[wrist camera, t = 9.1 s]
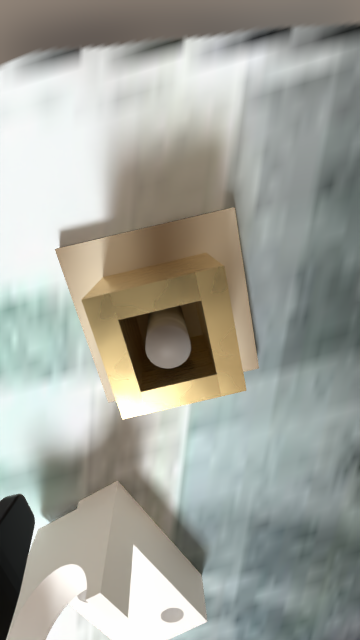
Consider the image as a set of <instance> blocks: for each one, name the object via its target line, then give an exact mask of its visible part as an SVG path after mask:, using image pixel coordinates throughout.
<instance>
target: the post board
mask: <svg viewBox="0 0 360 640" xmlns="http://www.w3.org/2000/svg"><path fill="white" fill-rule="evenodd" d="M55 251H56V254H57V257H58V260H59V262H60V265H61V268H62V271H63V274H64V277H65V280H66V282H67V285H68V288H69V291H70V294H71V297H72V300H73V302H74V305H75V308H76V311H77V314H78V317H79V320H80V323H81V325H82V328H83V331H84V334H85V337H86V340H87V343H88V345H89V348H90V351H91V354H92V357H93V360H94V363H95V365H96V368H97V371H98V374H99V377H100V380H101V383H102V385H103V388H104V391H105V394H106V397H107V400H108V403H109V402H114V401H116V399H115V396H114V393H113V390H112V387H111V384H110V382H109V379H108V376H107V373H106V370H105V367H104V364H103V361H102V358H101V356H100V353H99V350H98V347H97V344H96V341H95V338H94V335H93V332H92V330H91V327H90V324H89V321H88V318H87V315H86V312H85V309H84V306H83V304H82V301H81V300H82V298H83V297H84V296H85V295H86V294H87V293H88V292H89V291H90V290H91V289H92V288H93V287H94V286H95V285H96V284H97V283H98V282H99V281H100V280H101V278H102V277H106V276H110V275H114V274H118V273H123V272H127V271H131V270H135V269H139V268H144V267H148V266H152V265H156V264H160V263H165V262H169V261H173V260H177V259H181V258H186V257H190V256H194V255H198V254H202V253H208V254H209V255H210V256H212V257H213V258H214V259H216V260H217V261H218V262H220V263H221V264H223V265H224V266H225V272H226V278H227V283H228V289H229V295H230V300H231V306H232V312H233V317H234V323H235V329H236V334H237V340H238V346H239V351H240V357H241V362H242V368H243V372H245V371H249V370H254V369H258V368H259V366H258V359H257V352H256V346H255V339H254V332H253V326H252V319H251V313H250V306H249V299H248V293H247V286H246V279H245V273H244V266H243V259H242V253H241V246H240V239H239V233H238V226H237V219H236V213H235V207H234V208H228V209H224V210H220V211H216V212H211V213H207V214H203V215H198V216H194V217H190V218H185V219H181V220H177V221H173V222H168V223H164V224H160V225H155V226H151V227H147V228H143V229H138V230H134V231H130V232H125V233H121V234H117V235H113V236H108V237H104V238H100V239H95V240H91V241H87V242H82V243H78V244H74V245H70V246H65V247H61V248H57V249H55ZM136 318H137V321H138V325H139V328H140V332H141V335H142V339H143V342H144V345H145V350H146V354H147V357H148V358H149V360H150V361H151V362H152V363H153V364H154V365H156V366H158V367H161V368H175V367H177V366H179V365H181V364H183V363H184V362H185V361H186V360H187V358H188V357H189V354H190V351H191V343H190V339H189V338H190V337H195V336H199V335H202V331H201V326H200V322H199V317H198V313H197V308H196V303H195V302H193V303H188V304H184V305H180V306H176V307H171V308H167V309H163V310H159V311H155V312H150V313H146V314H142V315H138V316H136Z"/></svg>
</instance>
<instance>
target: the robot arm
mask: <svg viewBox="0 0 360 640" xmlns="http://www.w3.org/2000/svg"><path fill="white" fill-rule="evenodd" d="M34 525H35V519H34V515H33V513H32V511H31V509H30V507H29V505H28V503H27V501H26V499H25V497H24V496H23V495H22V494H16V495H11V496H7V497H5V498H3V499H2V500H1V501H0V640H6V638H7V635H8V632H9V629H10V625H11V622H12V619H13V615H14V612H15V609H16V605H17V602H18V598H19V594H20V590H21V586H22V582H23V577H24V572H25V568H26V563H27V558H28V554H29V549H30V544H31V539H32V535H33V530H34Z"/></svg>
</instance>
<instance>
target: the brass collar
mask: <svg viewBox="0 0 360 640" xmlns="http://www.w3.org/2000/svg"><path fill="white" fill-rule="evenodd" d="M81 301H82V304H83V306H84V309H85V312H86V315H87V318H88V321H89V324H90V327H91V330H92V332H93V335H94V338H95V341H96V344H97V347H98V350H99V353H100V356H101V358H102V361H103V364H104V367H105V370H106V373H107V376H108V379H109V382H110V384H111V387H112V390H113V393H114V396H115V399H116V402H117V405H118V408H119V410H120V413H121V416H122V419H126V418H131V417H135V416H139V415H144V414H148V413H152V412H156V411H161V410H165V409H169V408H174V407H178V406H182V405H186V404H191V403H195V402H199V401H204V400H208V399H212V398H216V397H221V396H225V395H229V394H234V393H238V392H242V391H246V385H245V379H244V374H243V368H242V362H241V357H240V351H239V346H238V340H237V334H236V329H235V323H234V317H233V312H232V306H231V300H230V295H229V289H228V283H227V278H226V272H225V266H224V265H223V264H221V263H220V262H218V261H217V260H216V259H214V258H213V257H212V256H210V255H209V254H208V253H202V254H198V255H194V256H190V257H186V258H181V259H177V260H173V261H169V262H165V263H160V264H156V265H152V266H148V267H144V268H139V269H135V270H131V271H127V272H123V273H118V274H114V275H110V276H106V277H102V278H101V280H100V281H99V282H98V283H97V284H96V285H95V286H94V287H93V288H92V289H91V290H90V291H89V292H88V293H87V294H86V295H85V296H84V297H83V298H82V300H81ZM193 302H195V303H196V308H197V313H198V317H199V322H200V326H201V331H202V335H199V336H195V337H190V338H189V339H190V343H191V351H190V354H189V357H188V358H187V360H186V361H185V362H184V363H183V364H181V365H179V366H177V367H175V368H161V367H158V366H156V365H154V364H153V363H152V362H151V361H150V360H149V358H148V357H147V354H146V350H145V345H144V342H143V339H142V335H141V332H140V328H139V325H138V321H137V318H136V316H138V315H142V314H146V313H150V312H155V311H159V310H163V309H167V308H171V307H176V306H180V305H184V304H188V303H193Z"/></svg>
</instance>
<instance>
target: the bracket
mask: <svg viewBox="0 0 360 640" xmlns="http://www.w3.org/2000/svg"><path fill="white" fill-rule="evenodd" d="M68 604H69V605H70V606H72V607H73V608H74V609H75V610H76V611H78V612H79V613H80V614H81V615H82V616H83V617H85V618H86V619H87V620H88V621H89V622H91V623H92V624H93V625H94V626H95V627H97V628H98V629H99V630H100V631H101V632H102V633H104V634H105V635H106V636H107V637H108V638H110V639H111V640H168V639H171V638H173V637H175V636H177V635H179V634H181V633H184V632H186V631H188V630H190V629H192V628H194V627H197V626H199V625H201V624H203V623H205V622H207V614H206V606H205V598H204V590H203V582H202V575H201V574H200V573H199V572H198V570H197V569H196V568H195V567H194V566H193V565H192V564H191V563H190V561H189V560H188V559H187V558H186V557H185V556H184V555H183V554H182V552H181V551H180V550H179V549H178V548H177V547H176V546H175V545H174V543H173V542H172V541H171V540H170V539H169V538H168V537H167V536H166V534H165V533H164V532H163V531H162V530H161V529H160V528H159V527H158V525H157V524H156V523H155V522H154V521H153V520H152V519H151V518H150V516H149V515H148V514H147V513H146V512H145V511H144V510H143V509H142V507H141V506H140V505H139V504H138V503H137V502H136V501H135V500H134V498H133V497H132V496H131V495H130V494H129V493H128V492H127V491H126V489H125V488H124V487H123V486H122V485H121V484H120V483H119V482H118V481H116V482H114V483H112V484H110V485H108V486H107V487H105V488H103V489H101V490H99V491H97V492H95V493H93V494H91V495H90V496H88V497H86V498H84V499H82V500H80V501H79V503H78V506H77V509H76V510H74V511H72V512H70V513H68V514H66V515H64V516H62V517H61V518H59V519H57V520H55V521H53V522H51V523H49V524H47V525H46V526H44V527H42V528H40V529H38V531H37V534H36V537H35V539H34V542H33V544H32V547H31V550H30V552H29V555H28V558H27V563H26V568H25V572H24V577H23V582H22V586H21V590H20V594H19V598H18V602H17V605H16V609H15V612H14V615H13V619H12V622H11V625H10V629H9V632H8V635H7V638H6V640H46V638H47V635H48V633H49V631H50V629H51V628H52V626H53V624H54V622H55V621H56V619H57V618H58V616H59V615H60V613H61V612H62V611H63V609H64V608H65V607H66V606H67V605H68Z"/></svg>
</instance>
